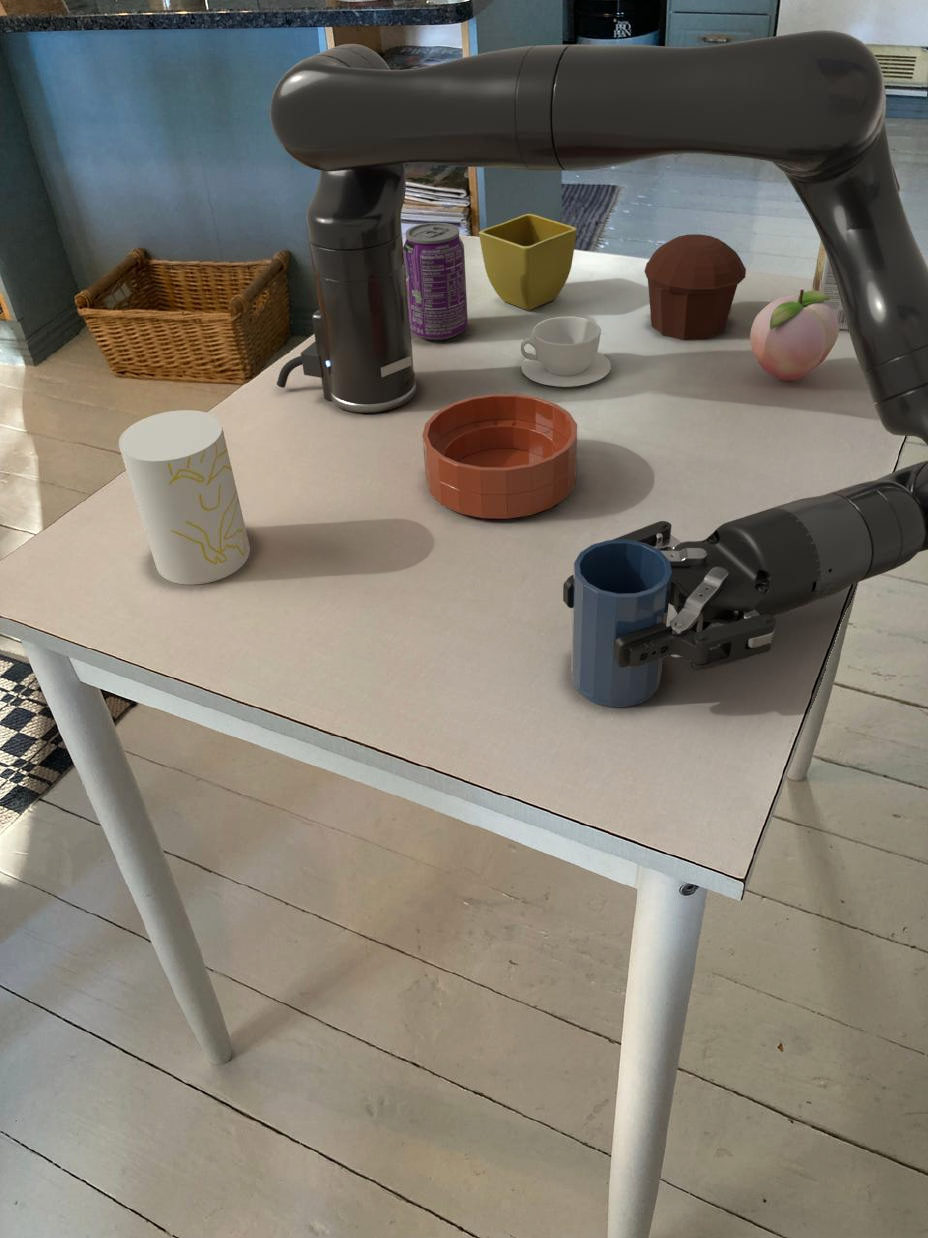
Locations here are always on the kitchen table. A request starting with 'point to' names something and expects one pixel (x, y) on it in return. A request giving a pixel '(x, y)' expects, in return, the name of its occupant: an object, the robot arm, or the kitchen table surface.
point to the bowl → (500, 455)
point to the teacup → (565, 353)
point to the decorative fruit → (794, 334)
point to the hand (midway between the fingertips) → (590, 623)
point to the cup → (186, 495)
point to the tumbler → (616, 618)
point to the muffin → (692, 286)
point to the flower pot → (528, 259)
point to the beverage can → (435, 281)
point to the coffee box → (831, 282)
